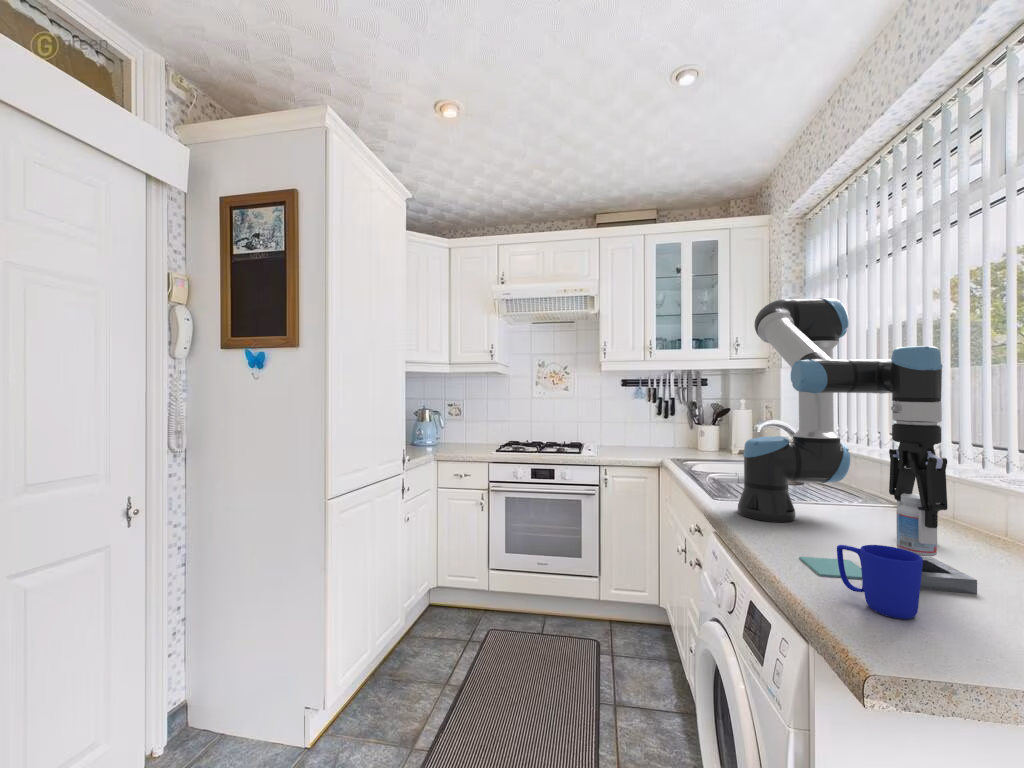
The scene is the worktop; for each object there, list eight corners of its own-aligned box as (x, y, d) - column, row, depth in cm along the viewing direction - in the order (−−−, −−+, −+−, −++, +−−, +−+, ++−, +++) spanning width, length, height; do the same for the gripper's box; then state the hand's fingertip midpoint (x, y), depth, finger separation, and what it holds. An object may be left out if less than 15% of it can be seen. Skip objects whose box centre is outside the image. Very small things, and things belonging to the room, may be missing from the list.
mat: (799, 558, 103) (799, 556, 103) (849, 561, 101) (849, 559, 101) (819, 576, 93) (819, 574, 93) (876, 580, 92) (876, 578, 92)
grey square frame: (867, 564, 100) (867, 552, 100) (931, 569, 98) (931, 557, 98) (903, 587, 88) (903, 574, 88) (977, 593, 86) (977, 580, 86)
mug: (847, 589, 87) (847, 535, 87) (931, 615, 77) (930, 555, 77) (826, 599, 83) (826, 543, 83) (912, 629, 73) (912, 565, 73)
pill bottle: (944, 558, 90) (944, 500, 90) (908, 556, 91) (908, 499, 91) (923, 548, 96) (923, 493, 96) (889, 546, 97) (889, 492, 97)
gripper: (868, 419, 104) (868, 523, 103) (927, 426, 85) (927, 553, 85) (906, 420, 102) (906, 525, 102) (975, 427, 84) (975, 556, 83)
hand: (916, 537), depth 93 cm, fingers closed on pill bottle, 6 cm apart
